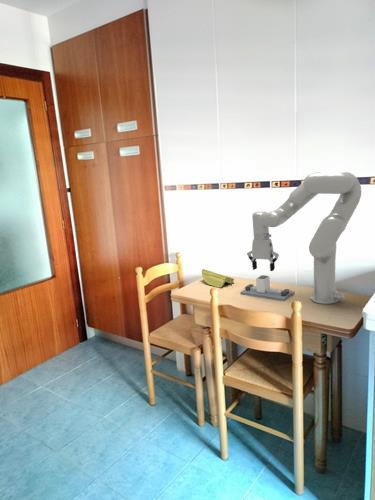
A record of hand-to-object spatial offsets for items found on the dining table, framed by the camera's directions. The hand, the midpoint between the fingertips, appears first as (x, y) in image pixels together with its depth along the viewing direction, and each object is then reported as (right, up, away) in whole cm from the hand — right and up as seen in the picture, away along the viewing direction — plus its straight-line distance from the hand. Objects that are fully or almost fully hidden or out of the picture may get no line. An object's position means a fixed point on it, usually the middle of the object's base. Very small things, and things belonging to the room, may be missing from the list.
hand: (263, 269), depth 197 cm
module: (0, -11, +2) cm, 11 cm away
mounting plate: (+2, -12, +2) cm, 13 cm away
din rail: (+2, -11, +1) cm, 12 cm away
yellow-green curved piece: (-21, -9, +28) cm, 36 cm away
